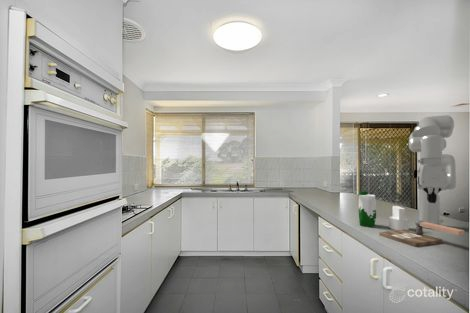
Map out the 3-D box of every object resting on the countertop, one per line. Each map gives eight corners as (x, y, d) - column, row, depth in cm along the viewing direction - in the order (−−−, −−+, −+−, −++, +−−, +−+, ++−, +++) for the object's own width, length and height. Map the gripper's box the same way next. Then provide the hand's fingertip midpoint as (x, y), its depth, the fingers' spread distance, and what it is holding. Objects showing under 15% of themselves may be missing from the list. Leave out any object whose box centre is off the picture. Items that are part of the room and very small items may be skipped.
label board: (404, 232, 131) (404, 221, 131) (442, 242, 114) (442, 230, 114) (379, 235, 125) (379, 224, 125) (415, 246, 108) (415, 233, 108)
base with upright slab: (411, 231, 133) (411, 209, 133) (393, 230, 134) (393, 208, 135) (403, 227, 141) (403, 206, 142) (386, 226, 143) (386, 205, 144)
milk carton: (359, 222, 151) (359, 190, 151) (376, 224, 146) (376, 191, 147) (358, 225, 143) (357, 191, 144) (375, 228, 139) (375, 192, 139)
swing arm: (413, 224, 123) (413, 220, 123) (418, 223, 124) (418, 220, 124) (458, 235, 105) (458, 231, 105) (464, 234, 106) (464, 230, 106)
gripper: (415, 162, 111) (415, 203, 110) (456, 162, 106) (456, 205, 106) (409, 162, 118) (409, 200, 117) (446, 162, 113) (447, 202, 113)
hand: (431, 202), depth 112 cm, fingers closed
